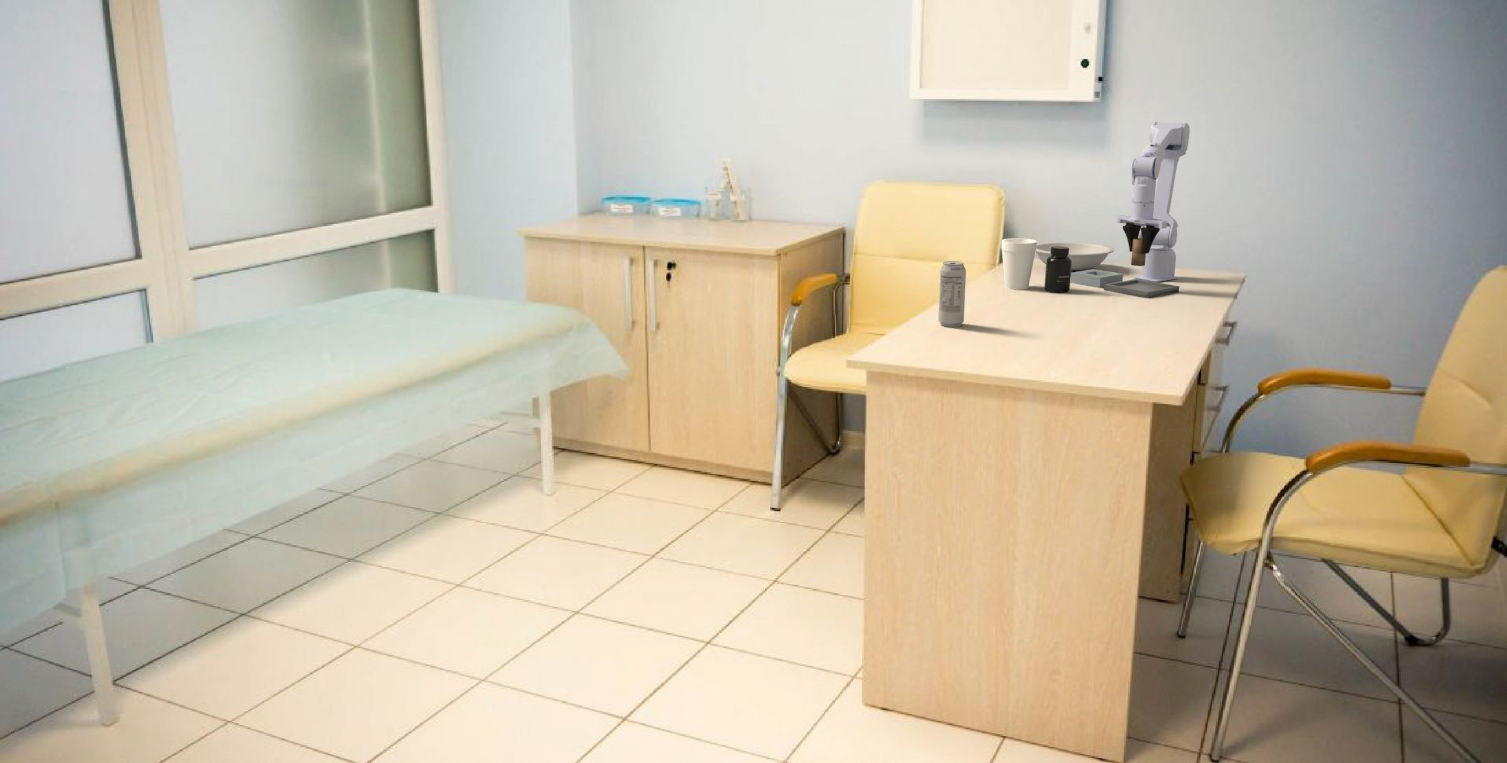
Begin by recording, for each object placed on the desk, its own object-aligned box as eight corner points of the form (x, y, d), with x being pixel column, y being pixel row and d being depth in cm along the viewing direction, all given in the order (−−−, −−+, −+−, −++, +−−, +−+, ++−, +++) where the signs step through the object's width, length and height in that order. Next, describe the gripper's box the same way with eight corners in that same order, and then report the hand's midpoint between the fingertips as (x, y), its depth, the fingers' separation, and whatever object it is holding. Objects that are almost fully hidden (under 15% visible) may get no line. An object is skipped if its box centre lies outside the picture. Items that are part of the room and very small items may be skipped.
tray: (1135, 284, 348) (1136, 278, 348) (1178, 292, 337) (1179, 286, 337) (1103, 290, 340) (1104, 284, 340) (1146, 298, 329) (1147, 292, 329)
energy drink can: (967, 323, 299) (970, 262, 295) (958, 328, 294) (960, 265, 290) (943, 321, 302) (946, 259, 298) (934, 325, 297) (936, 263, 293)
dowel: (1136, 263, 340) (1138, 237, 339) (1147, 265, 338) (1149, 239, 336) (1128, 264, 338) (1130, 239, 336) (1139, 266, 335) (1141, 240, 334)
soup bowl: (1013, 266, 378) (1014, 244, 376) (1076, 260, 387) (1078, 239, 386) (1064, 279, 356) (1065, 256, 355) (1129, 272, 366) (1131, 250, 364)
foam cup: (1032, 284, 348) (1034, 238, 344) (1036, 291, 339) (1038, 243, 336) (997, 284, 349) (1000, 238, 345) (1000, 290, 340) (1003, 243, 337)
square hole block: (1093, 278, 357) (1094, 269, 356) (1122, 283, 349) (1123, 273, 348) (1070, 282, 351) (1071, 272, 350) (1099, 287, 343) (1100, 277, 343)
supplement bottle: (1063, 294, 334) (1066, 250, 331) (1040, 291, 338) (1042, 247, 335) (1074, 290, 340) (1076, 246, 337) (1050, 287, 344) (1053, 244, 341)
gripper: (1111, 200, 337) (1107, 250, 340) (1156, 205, 326) (1152, 257, 329) (1128, 198, 341) (1124, 247, 344) (1173, 203, 330) (1168, 254, 333)
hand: (1139, 252), depth 337 cm, fingers closed on dowel, 4 cm apart
